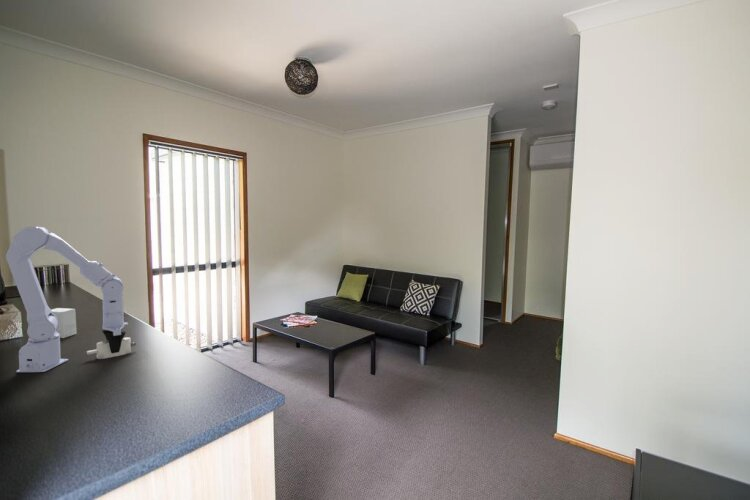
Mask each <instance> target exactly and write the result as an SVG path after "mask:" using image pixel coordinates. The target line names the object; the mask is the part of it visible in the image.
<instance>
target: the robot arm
mask: <svg viewBox="0 0 750 500" xmlns="http://www.w3.org/2000/svg"><path fill="white" fill-rule="evenodd" d="M8 247H9V248H8V250H7V252H6V254H5V259H6V262H7V264H8V267H9V270H10V272H11V275H12V277H13V281H14V283H15V285H16V288H17V290H18V293H19V296H20V298H21V300H22V303H23V306H24V310H25V312H26V321H27V325H28V327H27V330H26V333H27V336H28V340H27V343H26V344H24V345H23V346H21V348H20V349H19V350H18V365H19V367H18V369H17V370H16V373H45V372H47V371H50V370H51V369H53V368H55V367H57V366H59V365H61V364H64V363H65V362H67V361H69V358H61V338H60V334H59V333H58V332H57V331H56V329H57V328H58V326H59V319H58V318H57V317H56V316H55V315H54V314H53V313H52V311H51V310H52V308H50V307H49V305H48V303H47V300H46V298H45V295H44V293H43V290H42V287H41V285H40V281H39V278H38V276H37V273H36V270H35V267H34V266H33V263H32V260H31V258H32V257H33V256H34V254H35V253H37V251H38V250H39V249H40V248H42V247H43V248H42V249H44V250H48V251H54V252H57V253H59V254H60V255H61V256H63V257H64V258H65V259H67V260H68V261H70V262H71V263H72V264H74V265H75V266H76V267H78V268H79V273H80V275H82V276H83V277H84V278H85V279H86V280H87V281H89V282H91V283H92V284H93V285H94V286H96V287H99V288H100V290H101V292H102V294H103V297H102V299H101V300H102V327H101V328H102V330H101V332H102V333H103V335H104V336H105V339H106V340H105V341H107V340H108V342H109V346H110V350H111V353H117V352H119V351H120V346H121V342H122V339H123V338H125V336H126V331H123V329H124V327H125V326H128V325H129V322H125V321H124V320H125V319H124V318H125V317H124V314H125V313H124V298H123V297H124V295H123V294H124V293H123V290H124V283H123V281H122V280H121V278H120V277H119V276H116V275H117V274H115V273H114V272H113V273H112V272H111V271H109V270H108V269H107V268H105V267H104V266H105V265H104V263H102V262H98V261H97V260H88V259H87V258H86V257H85V256H83V254H81V253H80V252H79V251H78V250H76V249H75V248H74V247H73V246H72V245H70V244H69V243H68V242H67V241H65V240H64V239H63V238H62V237H60V236H58V235H57V234H56V233H54V232H51V231H50V230H49V229H48V228H46V227H44V226H41V225H34V226H25V227H24V228H22V229H20V230H19V231H18V232H17V233H15V235H13V237H12V241H11V244H10V245H9V246H8Z"/></svg>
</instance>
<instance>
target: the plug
mask: <svg viewBox="0 0 750 500" xmlns="http://www.w3.org/2000/svg"><path fill="white" fill-rule="evenodd" d="M136 346H137V343H136V341H135V342H132V341H131V337H129V336H128V337H127V336H124V337H123V339H122V342H121V346H120V351H119V352H117V353H111V350H110V346H109V342H108V340H103V341H99V342H96V349H91V350H86V355H93V354H96V359H98V360H101V359H102V360H103V359H108V358H113V357H119V356H123V355H124V356H125V355H128V354H130V353H131V352H132V347H136Z"/></svg>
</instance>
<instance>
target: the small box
mask: <svg viewBox="0 0 750 500" xmlns="http://www.w3.org/2000/svg"><path fill="white" fill-rule="evenodd" d="M51 311H52V313H53V314H54V315H55V316H56V317H57V318H58V319H59V326H58V328H57V329H56V331H57V332H58V333H59V334H60V339H65V338H68V337H72V336H75V335H77V318H76V317H77V315H76V308H67V307H66V308H64V307H55V308H51Z"/></svg>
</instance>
